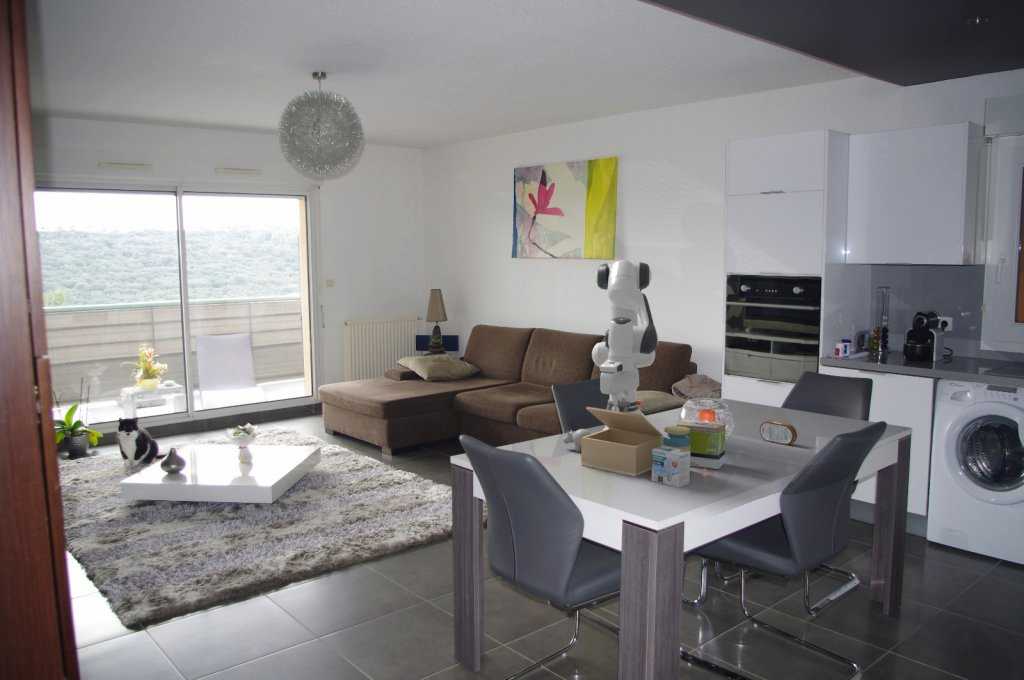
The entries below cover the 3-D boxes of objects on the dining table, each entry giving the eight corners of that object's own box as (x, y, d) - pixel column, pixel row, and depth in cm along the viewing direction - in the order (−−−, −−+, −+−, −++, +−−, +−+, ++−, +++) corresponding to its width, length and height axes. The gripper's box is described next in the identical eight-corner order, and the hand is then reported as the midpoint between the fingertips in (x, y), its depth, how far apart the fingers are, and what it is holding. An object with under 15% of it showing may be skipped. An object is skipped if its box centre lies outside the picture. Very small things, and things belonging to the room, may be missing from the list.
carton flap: (609, 428, 273) (613, 414, 275) (662, 437, 259) (666, 422, 261) (586, 408, 261) (590, 394, 262) (640, 416, 246) (645, 402, 248)
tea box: (725, 463, 262) (726, 422, 260) (717, 470, 253) (718, 428, 252) (684, 457, 269) (684, 418, 268) (675, 464, 261) (676, 423, 259)
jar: (660, 467, 257) (661, 425, 255) (687, 467, 256) (688, 425, 255) (665, 475, 248) (666, 431, 246) (692, 475, 247) (693, 431, 246)
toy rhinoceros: (567, 446, 287) (567, 424, 286) (595, 450, 281) (595, 428, 280) (558, 450, 281) (558, 428, 280) (586, 454, 275) (586, 432, 274)
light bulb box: (650, 480, 242) (651, 448, 241) (662, 476, 246) (663, 445, 245) (678, 487, 234) (679, 454, 233) (690, 483, 239) (691, 450, 238)
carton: (608, 454, 274) (608, 428, 273) (661, 464, 260) (662, 437, 259) (581, 465, 260) (581, 437, 259) (635, 476, 246) (635, 447, 245)
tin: (797, 445, 286) (797, 424, 285) (792, 447, 284) (793, 425, 283) (762, 438, 297) (763, 418, 296) (758, 440, 295) (758, 419, 294)
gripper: (628, 361, 266) (628, 398, 267) (597, 366, 250) (596, 406, 251) (643, 362, 262) (643, 400, 263) (612, 368, 246) (612, 408, 247)
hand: (620, 403), depth 257 cm, fingers open, 4 cm apart
